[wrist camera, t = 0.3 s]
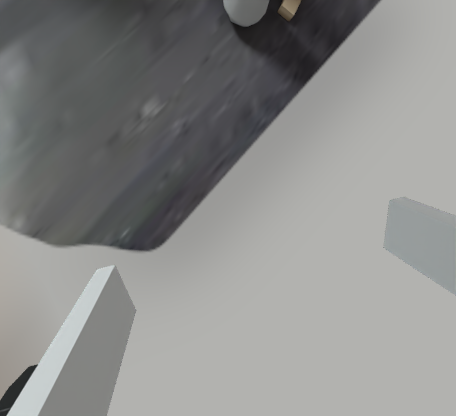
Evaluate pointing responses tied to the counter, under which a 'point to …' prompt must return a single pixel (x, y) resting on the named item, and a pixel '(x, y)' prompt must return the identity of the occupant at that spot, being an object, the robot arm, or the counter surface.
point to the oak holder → (288, 8)
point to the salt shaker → (245, 11)
